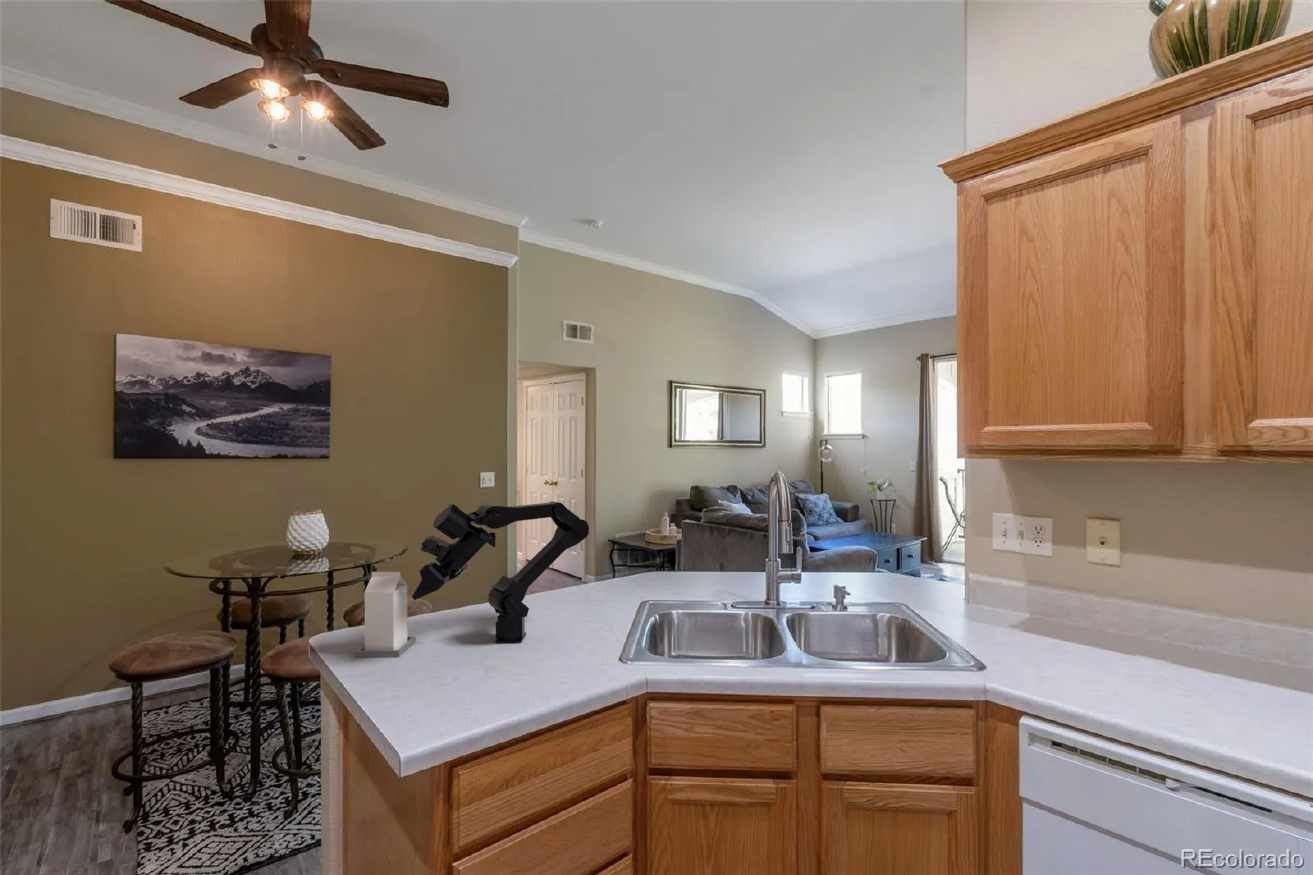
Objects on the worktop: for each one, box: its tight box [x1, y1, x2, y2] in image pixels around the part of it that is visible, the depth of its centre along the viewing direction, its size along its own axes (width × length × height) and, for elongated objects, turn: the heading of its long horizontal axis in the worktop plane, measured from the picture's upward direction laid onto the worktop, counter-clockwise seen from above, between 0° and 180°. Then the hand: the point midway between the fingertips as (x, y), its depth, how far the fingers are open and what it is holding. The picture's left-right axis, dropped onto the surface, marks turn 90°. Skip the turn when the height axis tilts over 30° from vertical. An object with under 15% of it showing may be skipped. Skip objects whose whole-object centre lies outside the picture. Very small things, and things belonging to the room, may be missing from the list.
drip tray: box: [354, 635, 417, 659], centre depth 141 cm, size 10×10×2 cm
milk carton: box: [364, 571, 408, 650], centre depth 142 cm, size 7×7×19 cm
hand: (420, 593), depth 142 cm, fingers open, 9 cm apart
